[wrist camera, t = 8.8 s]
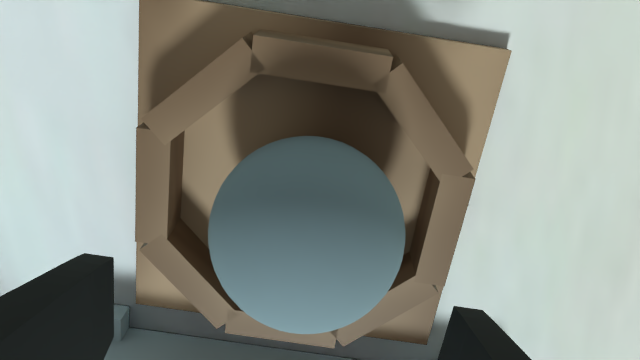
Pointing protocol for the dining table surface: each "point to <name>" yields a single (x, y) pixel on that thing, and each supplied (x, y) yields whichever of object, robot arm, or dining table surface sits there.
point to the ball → (306, 235)
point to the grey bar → (188, 346)
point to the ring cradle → (302, 120)
